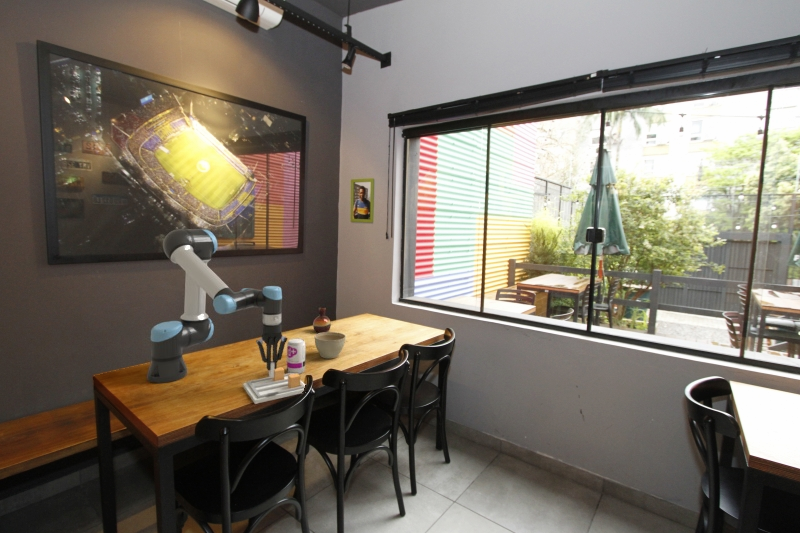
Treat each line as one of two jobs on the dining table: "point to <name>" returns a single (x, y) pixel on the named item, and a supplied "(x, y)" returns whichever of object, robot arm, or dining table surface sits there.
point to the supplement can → (296, 356)
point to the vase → (321, 322)
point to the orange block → (278, 374)
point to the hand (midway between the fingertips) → (271, 376)
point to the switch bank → (271, 389)
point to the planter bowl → (329, 344)
